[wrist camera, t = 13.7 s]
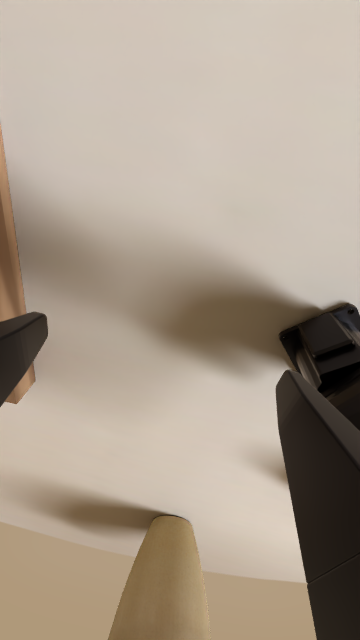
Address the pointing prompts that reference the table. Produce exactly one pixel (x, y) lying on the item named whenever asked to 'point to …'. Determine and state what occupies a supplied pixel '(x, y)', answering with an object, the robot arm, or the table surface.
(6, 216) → the slot rack
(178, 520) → the plant pot
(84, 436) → the table surface
